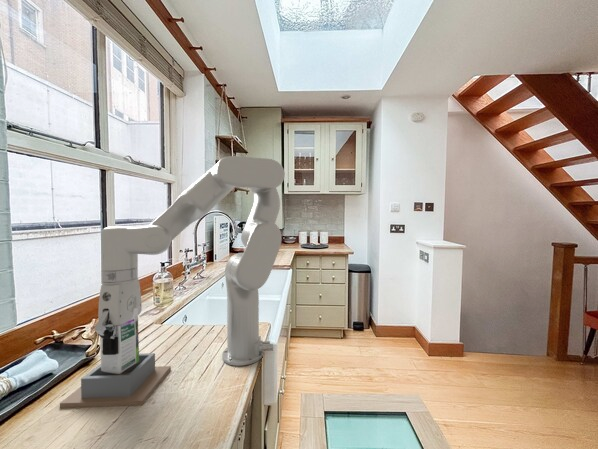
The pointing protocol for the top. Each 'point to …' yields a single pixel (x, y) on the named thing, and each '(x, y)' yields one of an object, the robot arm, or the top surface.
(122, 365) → the syrup box
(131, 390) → the caddy
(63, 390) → the top surface
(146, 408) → the top surface
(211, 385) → the top surface
